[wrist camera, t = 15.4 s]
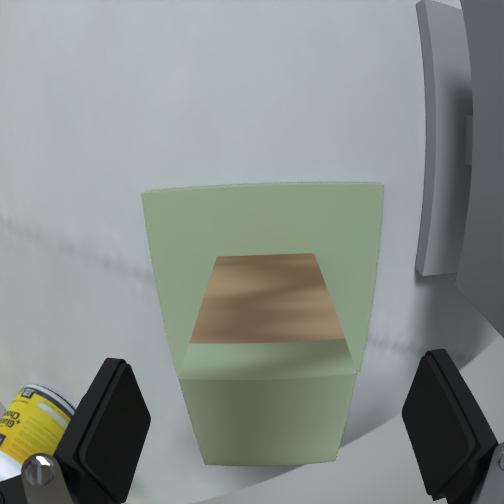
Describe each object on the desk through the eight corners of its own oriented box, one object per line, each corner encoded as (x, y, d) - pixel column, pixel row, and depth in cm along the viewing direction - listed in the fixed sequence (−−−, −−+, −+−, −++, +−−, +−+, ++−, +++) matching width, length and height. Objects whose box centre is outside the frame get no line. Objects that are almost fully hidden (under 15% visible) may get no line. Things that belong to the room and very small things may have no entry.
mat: (379, 182, 14) (383, 184, 13) (357, 365, 18) (360, 371, 18) (145, 191, 14) (141, 193, 14) (179, 370, 19) (177, 376, 18)
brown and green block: (313, 252, 15) (356, 373, 7) (310, 331, 16) (335, 460, 9) (216, 256, 15) (178, 378, 8) (225, 334, 17) (205, 464, 9)
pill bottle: (50, 377, 20) (-16, 487, 9) (97, 430, 22) (54, 536, 11) (12, 383, 21) (-46, 471, 10) (54, 430, 23) (11, 517, 12)
